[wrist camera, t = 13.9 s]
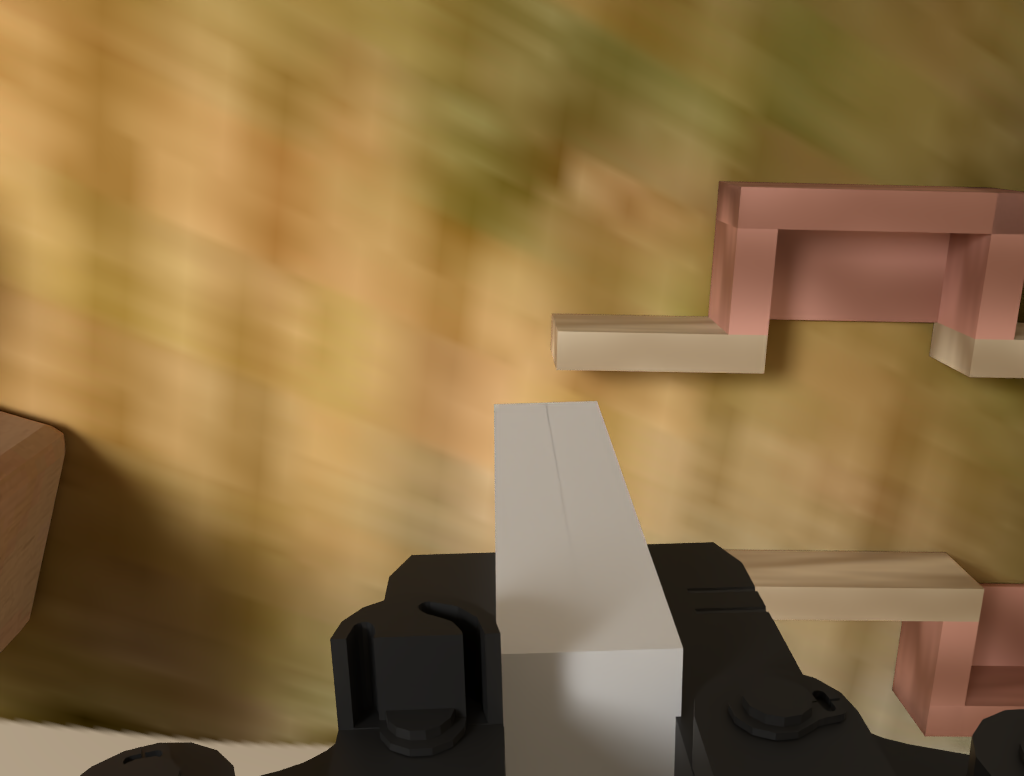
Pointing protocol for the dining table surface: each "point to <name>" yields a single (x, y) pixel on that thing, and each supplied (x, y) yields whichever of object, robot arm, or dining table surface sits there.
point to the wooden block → (24, 513)
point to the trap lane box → (860, 297)
